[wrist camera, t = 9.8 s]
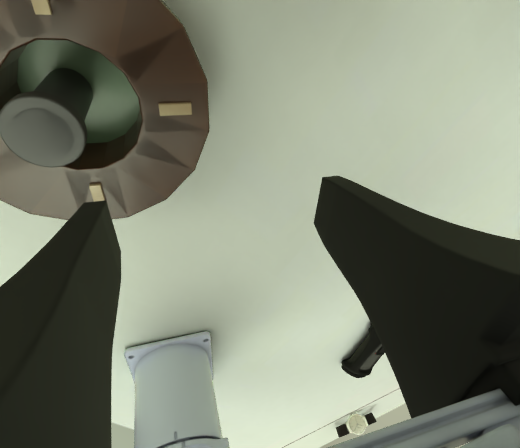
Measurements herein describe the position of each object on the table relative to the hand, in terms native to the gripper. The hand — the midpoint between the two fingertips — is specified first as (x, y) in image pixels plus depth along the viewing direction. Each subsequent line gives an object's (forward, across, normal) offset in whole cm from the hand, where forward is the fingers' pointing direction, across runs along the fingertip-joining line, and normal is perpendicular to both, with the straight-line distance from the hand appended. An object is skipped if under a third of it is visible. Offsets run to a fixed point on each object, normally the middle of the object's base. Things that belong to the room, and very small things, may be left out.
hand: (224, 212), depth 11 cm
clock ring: (+9, +5, -2) cm, 11 cm away
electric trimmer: (+11, -21, +29) cm, 38 cm away
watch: (+11, -26, +60) cm, 66 cm away
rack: (+10, +6, -2) cm, 12 cm away
